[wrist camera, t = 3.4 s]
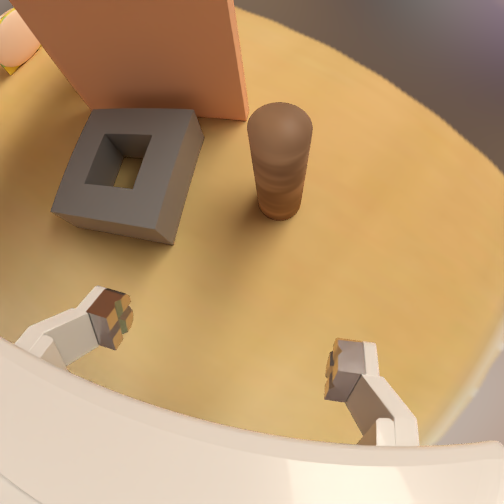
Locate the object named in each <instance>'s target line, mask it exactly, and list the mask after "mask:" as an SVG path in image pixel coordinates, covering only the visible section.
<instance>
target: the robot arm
mask: <svg viewBox="0 0 504 504" xmlns="http://www.w3.org/2000/svg"><path fill="white" fill-rule="evenodd" d="M130 302H131V300H130V296H129V295H128V294H125V293H122V292H118V291H115V290H112V289H108V288H104V287H101V286H95V287H94V288H93V289H92V290H91V291H90V293H89V294H88V295H87V296H86V297H85V298H84V299H83V301H82V302H81V303H80V304H79V305H78V306H77V308H76V309H75V308H71V309H69V310H67V311H64V312H62V313H59V314H57V315H55V316H52V317H50V318H48V319H45V320H43V321H40V322H38V323H36V324H33V325H31V326H29V327H28V328H27V329H26V331H25V332H24V333H23V334H22V335H21V337H20V338H19V339H18V340H17V341H16V342H15V344H13V343H11V342H9V341H8V340H6V339H4V338H3V337H1V336H0V504H504V445H502V444H501V443H500V442H498V441H485V442H478V443H468V444H454V445H440V446H439V445H437V446H419V436H418V426H417V419H416V417H415V416H414V415H413V414H412V412H411V411H410V410H409V408H408V407H407V406H406V405H405V403H404V402H403V401H402V400H401V398H400V397H399V396H398V395H397V393H396V392H395V391H394V390H393V388H392V387H391V386H390V385H389V384H388V382H387V381H386V380H385V379H384V377H381V376H379V366H378V357H377V348H376V344H375V343H373V342H365V341H357V340H349V339H342V338H336V340H335V342H334V344H333V351H332V352H330V354H329V357H328V361H327V365H326V374H325V376H326V377H327V382H326V384H325V393H324V399H325V400H331V401H338V402H345V404H346V406H347V408H348V409H349V411H350V413H351V415H352V417H353V418H354V420H355V422H356V424H357V426H358V427H359V429H360V431H361V433H362V435H363V437H362V438H361V440H360V441H359V442H358V443H357V444H356V445H355V444H342V443H331V442H321V441H313V440H305V439H298V438H291V437H284V436H278V435H272V434H266V433H261V432H256V431H251V430H246V429H241V428H236V427H232V426H227V425H223V424H219V423H215V422H211V421H207V420H203V419H199V418H195V417H192V416H188V415H185V414H181V413H178V412H174V411H171V410H168V409H164V408H161V407H158V406H155V405H152V404H149V403H146V402H143V401H140V400H137V399H135V398H132V397H129V396H126V395H123V394H121V393H118V392H116V391H113V390H110V389H108V388H105V387H103V386H100V385H98V384H95V383H93V382H91V381H88V380H86V379H84V378H81V377H79V376H77V375H75V374H72V373H70V372H69V371H68V369H67V367H66V366H67V365H69V364H71V363H72V362H74V361H75V360H77V359H79V358H80V357H82V356H84V355H85V354H87V353H88V352H90V351H92V350H93V349H95V348H96V347H98V346H99V345H101V346H104V347H107V348H110V349H113V350H117V348H118V346H119V345H120V343H121V342H122V340H123V335H122V334H124V333H126V332H128V331H129V329H130V328H131V325H132V322H133V310H132V309H131V308H130V306H129V304H130Z"/></svg>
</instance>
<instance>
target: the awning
mask: <svg viewBox="0 0 504 504" xmlns="http://www.w3.org/2000/svg"><path fill="white" fill-rule="evenodd" d="M9 1H10V2H11V4H12V5H13V6H14V8H15V9H16V11H17V12H18V14H19V15H20V16H21V18H22V19H23V21H24V22H25V23H26V25H27V26H28V28H29V29H30V30H31V32H32V33H33V34H34V36H35V37H36V39H37V40H38V41H39V43H40V44H41V45H42V47H43V48H44V49H45V51H46V52H47V53H48V55H49V56H50V57H51V59H52V60H53V61H54V63H55V64H56V65H57V67H58V68H59V69H60V71H61V72H62V73H63V75H64V76H65V77H66V79H67V80H68V81H69V83H70V84H71V85H72V86H73V88H74V89H75V90H76V92H77V93H78V94H79V95H80V97H81V98H82V99H83V101H84V102H85V103H86V104H87V106H88V107H89V108H90V110H91V111H92V110H93V109H116V108H166V109H192V110H194V111H195V114H196V117H208V118H221V119H232V120H242V121H246V120H247V117H248V113H249V106H248V98H247V91H246V84H245V77H244V70H243V62H242V55H241V48H240V42H239V35H238V28H237V21H236V14H235V8H234V1H233V0H9Z"/></svg>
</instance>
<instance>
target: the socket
mask: <svg viewBox="0 0 504 504" xmlns="http://www.w3.org/2000/svg"><path fill="white" fill-rule="evenodd" d="M203 140H204V135H203V133H202V130H201V127H200V125H199V122H198V119H197V117H196V114H195V111H194V110H192V109H166V108H116V109H93V110H92V112H91V114H90V116H89V118H88V121H87V123H86V125H85V127H84V129H83V131H82V133H81V135H80V137H79V140H78V142H77V144H76V146H75V149H74V151H73V153H72V156H71V158H70V160H69V163H68V165H67V168H66V170H65V173H64V175H63V178H62V181H61V183H60V186H59V189H58V191H57V194H56V197H55V200H54V203H53V205H52V208H51V211H50V212H52V213H54V214H55V215H57V216H59V217H60V218H62V219H64V220H66V221H67V222H69V223H71V224H72V225H74V226H76V227H80V228H85V229H90V230H96V231H101V232H106V233H111V234H117V235H122V236H127V237H133V238H138V239H143V240H149V241H154V242H159V243H165V244H170V245H174V241H175V237H176V233H177V229H178V226H179V222H180V218H181V215H182V211H183V207H184V204H185V200H186V197H187V193H188V190H189V186H190V183H191V179H192V176H193V173H194V169H195V166H196V163H197V159H198V156H199V153H200V150H201V147H202V143H203ZM124 157H132V158H144V159H143V161H142V164H141V167H140V170H139V173H138V175H137V178H136V181H135V184H134V187H133V189H129V188H120V187H113V185H114V182H115V180H116V177H117V174H118V171H119V169H120V166H121V163H122V161H123V158H124Z"/></svg>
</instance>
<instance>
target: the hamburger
mask: <svg viewBox="0 0 504 504" xmlns="http://www.w3.org/2000/svg"><path fill="white" fill-rule="evenodd" d="M41 46H42V45H41V44H40V43H39V41H38V40H37V39H36V37H35V36H34V34H33V33H32V32H31V30H30V29H29V28H28V26H27V25H26V23H25V22H24V21H23V19H22V18H21V16H20V15H19V14H18V12H17V11H16V9H15V8H12V9H10V10H8V11H6V12H5V13H4V14H3V15H1V16H0V64H1V65H2V66H3V68H4V69H5V70H6V71H7V72H8V73H9V74H10V75H12V73H13V72H14V71H15V70H16V69H17V68H18V67H19V66H21V65H22V64H23V63H25V62H26V61H27V60H29V59H30V58H31V57H32V56H33V55H34V54H35V52H36V51H37V50H38V49H39V48H40V47H41Z"/></svg>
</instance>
